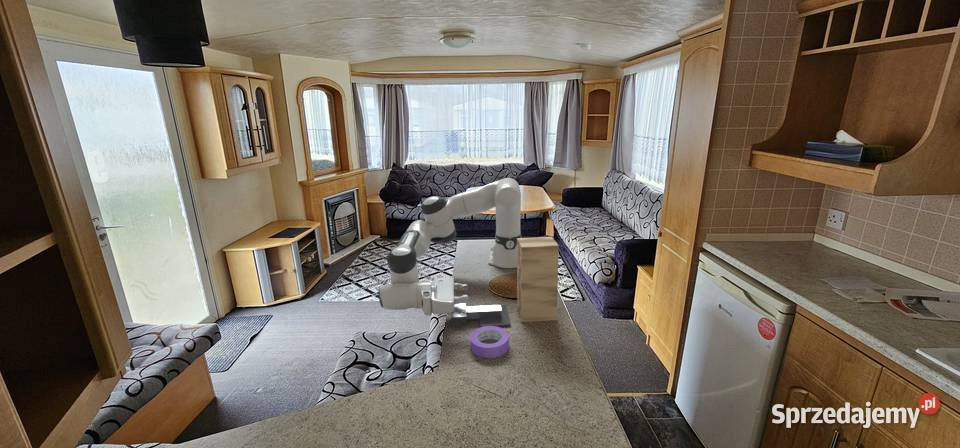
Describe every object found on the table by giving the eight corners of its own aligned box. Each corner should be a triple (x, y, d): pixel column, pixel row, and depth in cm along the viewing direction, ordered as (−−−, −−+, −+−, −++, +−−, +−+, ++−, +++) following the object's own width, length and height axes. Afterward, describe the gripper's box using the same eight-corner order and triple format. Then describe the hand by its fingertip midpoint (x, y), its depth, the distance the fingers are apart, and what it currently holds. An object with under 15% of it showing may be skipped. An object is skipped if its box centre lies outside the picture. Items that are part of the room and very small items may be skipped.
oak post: (517, 309, 140) (517, 238, 133) (549, 307, 141) (551, 236, 133) (521, 322, 132) (521, 247, 124) (556, 320, 133) (558, 245, 125)
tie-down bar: (499, 301, 137) (499, 309, 138) (451, 303, 136) (451, 311, 137) (502, 314, 131) (501, 322, 132) (451, 317, 130) (451, 325, 131)
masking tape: (480, 363, 112) (480, 351, 111) (464, 342, 122) (464, 331, 121) (515, 351, 116) (515, 340, 115) (497, 332, 127) (497, 322, 126)
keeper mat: (478, 308, 142) (478, 306, 141) (505, 307, 142) (505, 305, 142) (480, 328, 129) (480, 325, 129) (510, 326, 130) (510, 324, 129)
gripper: (429, 289, 142) (467, 287, 143) (425, 318, 123) (469, 315, 123) (428, 273, 140) (466, 271, 141) (424, 300, 121) (468, 297, 122)
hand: (467, 292), depth 132 cm, fingers open, 7 cm apart
